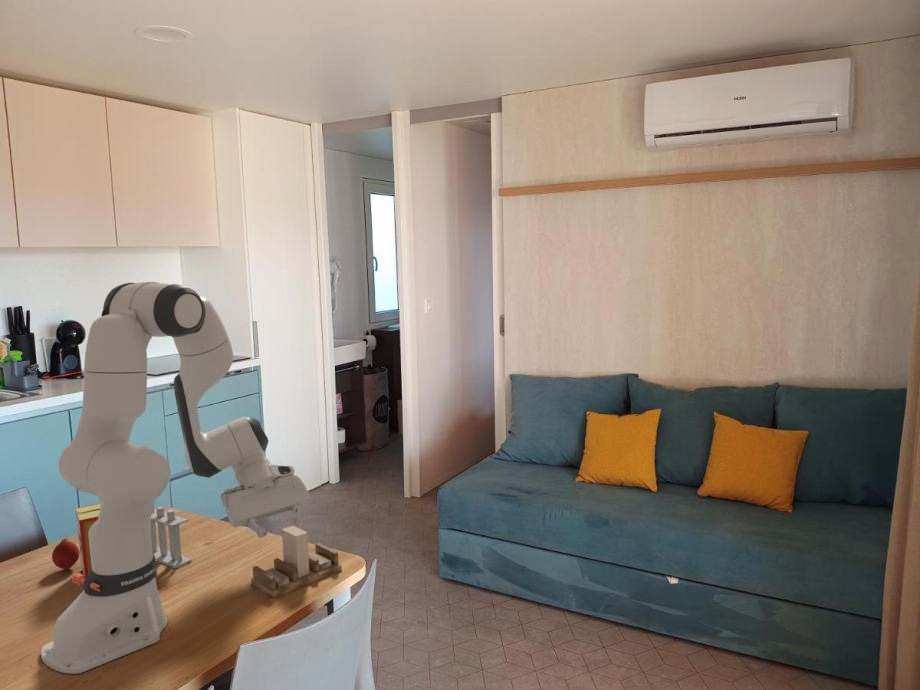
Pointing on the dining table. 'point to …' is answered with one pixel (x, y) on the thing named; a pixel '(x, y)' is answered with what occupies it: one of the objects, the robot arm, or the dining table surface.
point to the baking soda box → (86, 532)
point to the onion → (65, 554)
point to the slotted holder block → (286, 575)
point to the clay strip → (296, 549)
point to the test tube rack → (161, 553)
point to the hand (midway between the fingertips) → (281, 530)
